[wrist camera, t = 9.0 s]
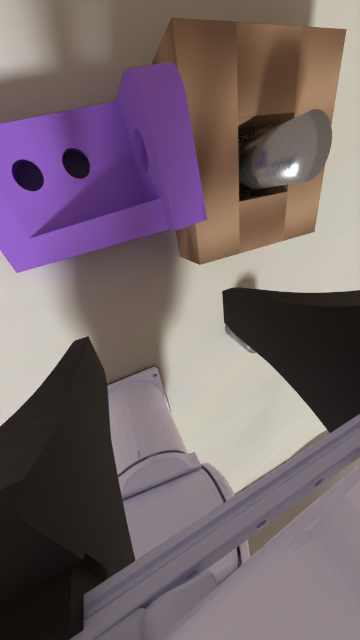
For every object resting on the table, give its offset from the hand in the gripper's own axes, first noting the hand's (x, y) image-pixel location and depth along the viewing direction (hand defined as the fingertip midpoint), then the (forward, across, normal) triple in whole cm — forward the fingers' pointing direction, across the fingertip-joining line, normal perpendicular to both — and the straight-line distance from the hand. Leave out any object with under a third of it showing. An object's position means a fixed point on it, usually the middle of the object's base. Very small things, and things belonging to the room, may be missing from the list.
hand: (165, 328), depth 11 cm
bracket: (+10, +2, -7) cm, 12 cm away
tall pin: (+9, -11, -7) cm, 16 cm away
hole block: (+9, -11, -7) cm, 16 cm away
